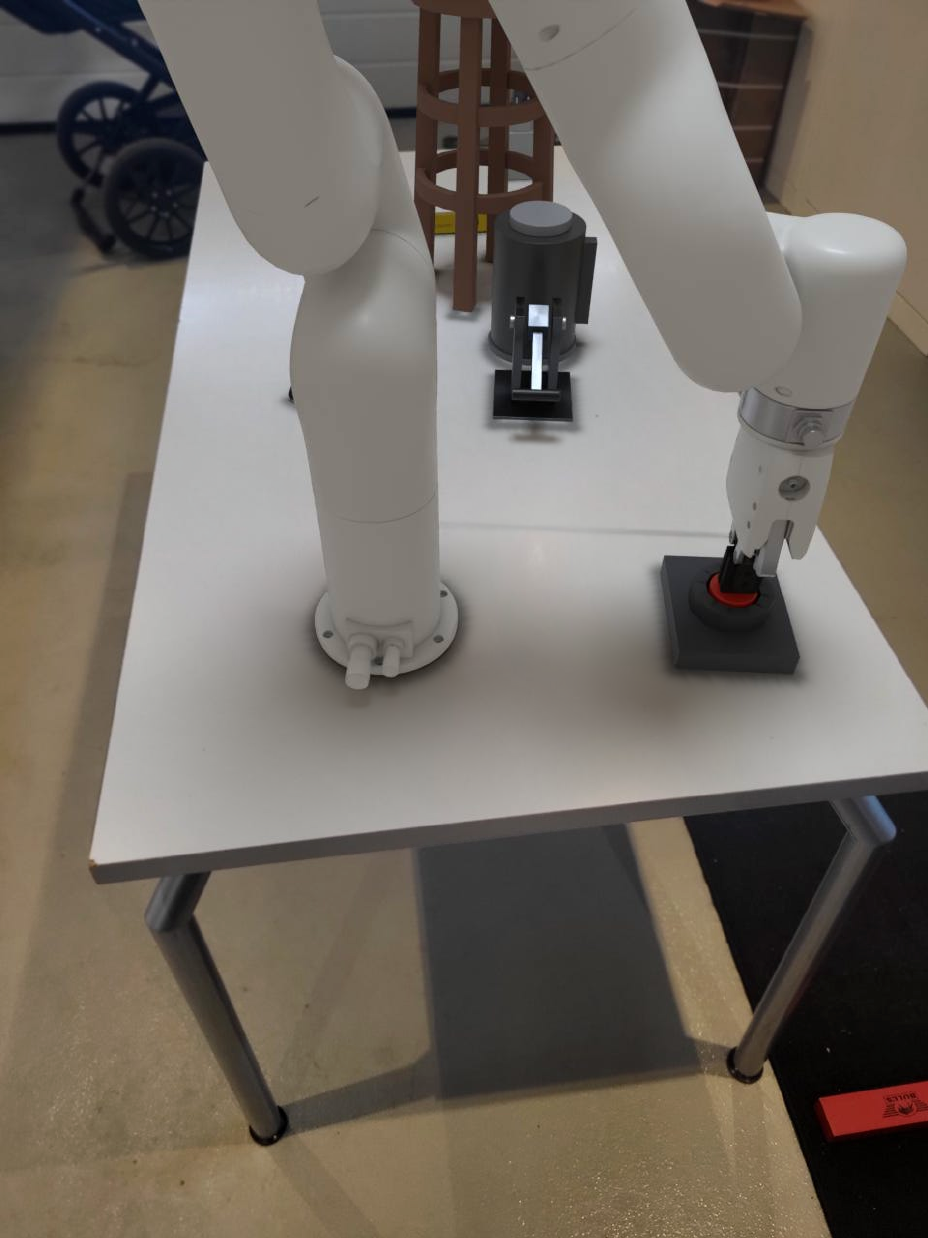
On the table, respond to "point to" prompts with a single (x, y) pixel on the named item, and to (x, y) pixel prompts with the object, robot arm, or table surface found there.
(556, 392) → the kettle switch
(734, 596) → the power button
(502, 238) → the kettle
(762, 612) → the power block
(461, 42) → the stool
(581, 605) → the table surface
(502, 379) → the switch bracket
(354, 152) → the robot arm
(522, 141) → the power adapter
